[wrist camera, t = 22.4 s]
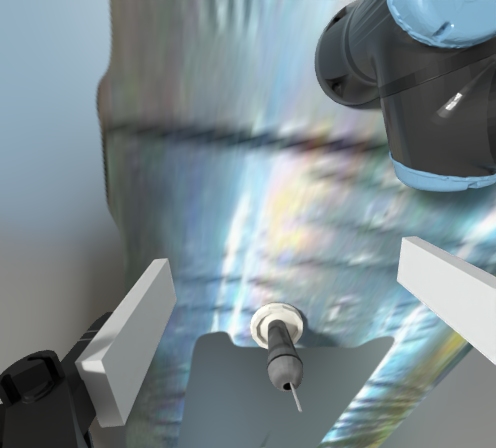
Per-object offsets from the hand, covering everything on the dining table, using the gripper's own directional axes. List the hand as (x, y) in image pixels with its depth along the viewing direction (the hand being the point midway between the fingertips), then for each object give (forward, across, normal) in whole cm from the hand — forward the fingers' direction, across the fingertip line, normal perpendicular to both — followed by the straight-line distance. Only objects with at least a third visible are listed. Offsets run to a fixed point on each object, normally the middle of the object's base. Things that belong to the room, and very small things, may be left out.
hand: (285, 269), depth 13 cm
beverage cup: (+36, +3, -36) cm, 51 cm away
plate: (+37, +3, -36) cm, 51 cm away
